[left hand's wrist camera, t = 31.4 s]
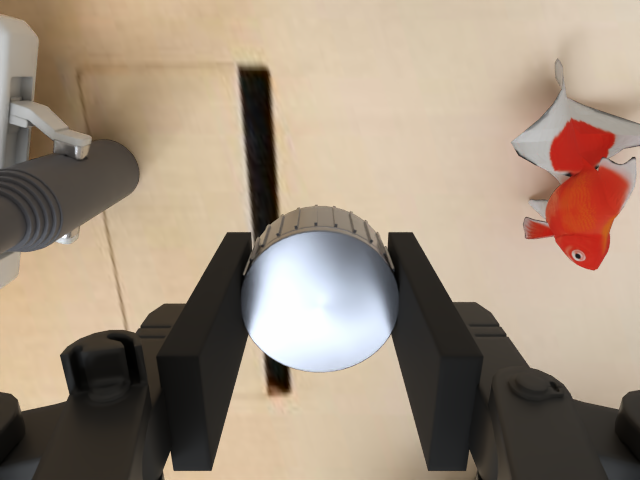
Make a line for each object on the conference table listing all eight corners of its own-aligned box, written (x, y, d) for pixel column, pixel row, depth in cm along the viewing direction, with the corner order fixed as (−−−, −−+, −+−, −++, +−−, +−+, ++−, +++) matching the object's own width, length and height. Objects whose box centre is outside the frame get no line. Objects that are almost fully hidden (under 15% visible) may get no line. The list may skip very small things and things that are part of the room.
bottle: (65, 160, 38) (-122, 223, 22) (112, 127, 37) (-48, 168, 21) (106, 209, 39) (-41, 303, 23) (151, 179, 38) (31, 255, 22)
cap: (381, 335, 15) (391, 379, 13) (248, 327, 15) (236, 369, 13) (399, 209, 14) (414, 234, 11) (250, 198, 13) (237, 222, 11)
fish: (466, 266, 36) (578, 264, 27) (468, 79, 37) (576, 16, 28) (563, 271, 40) (690, 271, 31) (562, 102, 41) (683, 54, 32)
